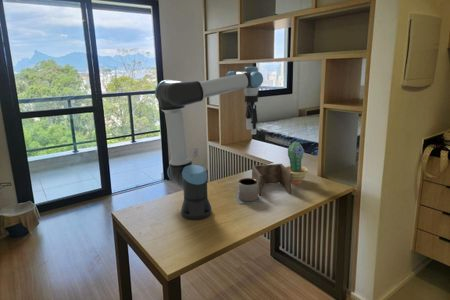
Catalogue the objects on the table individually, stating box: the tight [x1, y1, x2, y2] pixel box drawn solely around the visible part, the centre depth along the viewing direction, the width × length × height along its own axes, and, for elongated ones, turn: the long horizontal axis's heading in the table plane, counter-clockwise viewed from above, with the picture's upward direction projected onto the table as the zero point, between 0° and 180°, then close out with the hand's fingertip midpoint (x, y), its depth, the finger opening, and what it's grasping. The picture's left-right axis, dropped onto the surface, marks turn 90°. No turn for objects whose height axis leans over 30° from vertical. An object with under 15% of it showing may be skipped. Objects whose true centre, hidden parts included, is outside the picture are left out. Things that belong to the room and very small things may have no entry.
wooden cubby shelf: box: [251, 163, 292, 197], centre depth 183 cm, size 18×18×12 cm
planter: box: [237, 177, 259, 202], centre depth 171 cm, size 11×11×10 cm
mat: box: [235, 193, 262, 205], centre depth 172 cm, size 12×12×1 cm
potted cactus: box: [284, 141, 309, 185], centre depth 193 cm, size 15×15×25 cm
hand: (251, 131), depth 183 cm, fingers open, 13 cm apart
